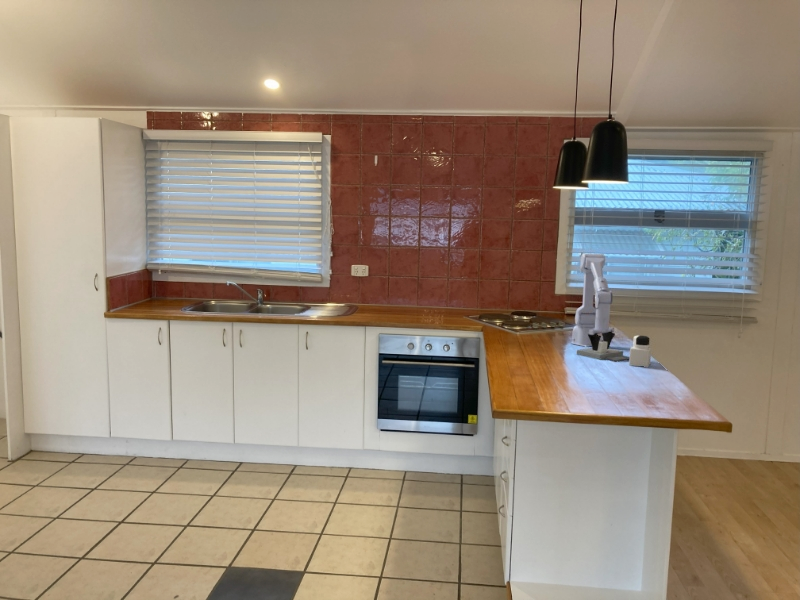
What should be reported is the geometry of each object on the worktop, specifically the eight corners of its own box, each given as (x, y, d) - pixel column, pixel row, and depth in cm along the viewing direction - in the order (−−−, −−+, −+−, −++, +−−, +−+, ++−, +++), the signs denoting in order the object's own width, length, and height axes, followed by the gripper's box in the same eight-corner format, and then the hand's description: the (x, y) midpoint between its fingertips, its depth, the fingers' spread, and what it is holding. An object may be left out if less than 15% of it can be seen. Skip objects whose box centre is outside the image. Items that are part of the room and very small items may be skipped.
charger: (593, 354, 264) (594, 339, 263) (598, 353, 266) (599, 338, 265) (600, 356, 261) (601, 340, 260) (606, 355, 263) (607, 339, 262)
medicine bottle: (650, 364, 248) (652, 335, 246) (647, 367, 241) (649, 338, 240) (632, 362, 251) (633, 333, 250) (628, 365, 245) (630, 336, 244)
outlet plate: (576, 354, 265) (576, 349, 265) (599, 350, 274) (600, 346, 274) (599, 359, 255) (599, 354, 255) (622, 355, 264) (623, 351, 264)
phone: (605, 360, 256) (605, 357, 256) (620, 358, 260) (620, 355, 260) (614, 363, 252) (615, 360, 251) (630, 361, 256) (630, 358, 256)
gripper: (599, 321, 254) (597, 352, 256) (620, 318, 262) (618, 349, 264) (585, 318, 260) (584, 350, 261) (607, 316, 268) (605, 346, 269)
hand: (600, 349), depth 263 cm, fingers open, 7 cm apart
